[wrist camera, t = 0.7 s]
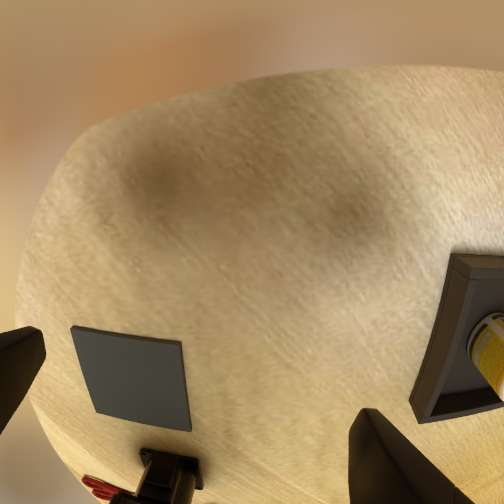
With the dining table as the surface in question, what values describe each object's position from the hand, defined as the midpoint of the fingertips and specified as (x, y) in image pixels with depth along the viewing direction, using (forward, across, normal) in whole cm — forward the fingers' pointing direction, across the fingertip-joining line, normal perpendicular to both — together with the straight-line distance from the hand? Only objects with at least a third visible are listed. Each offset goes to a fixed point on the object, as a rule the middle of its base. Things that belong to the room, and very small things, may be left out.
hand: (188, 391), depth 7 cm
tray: (+14, -21, +3) cm, 26 cm away
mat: (+14, +7, +14) cm, 21 cm away
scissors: (+14, +9, +38) cm, 41 cm away
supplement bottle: (+13, -21, +3) cm, 25 cm away
